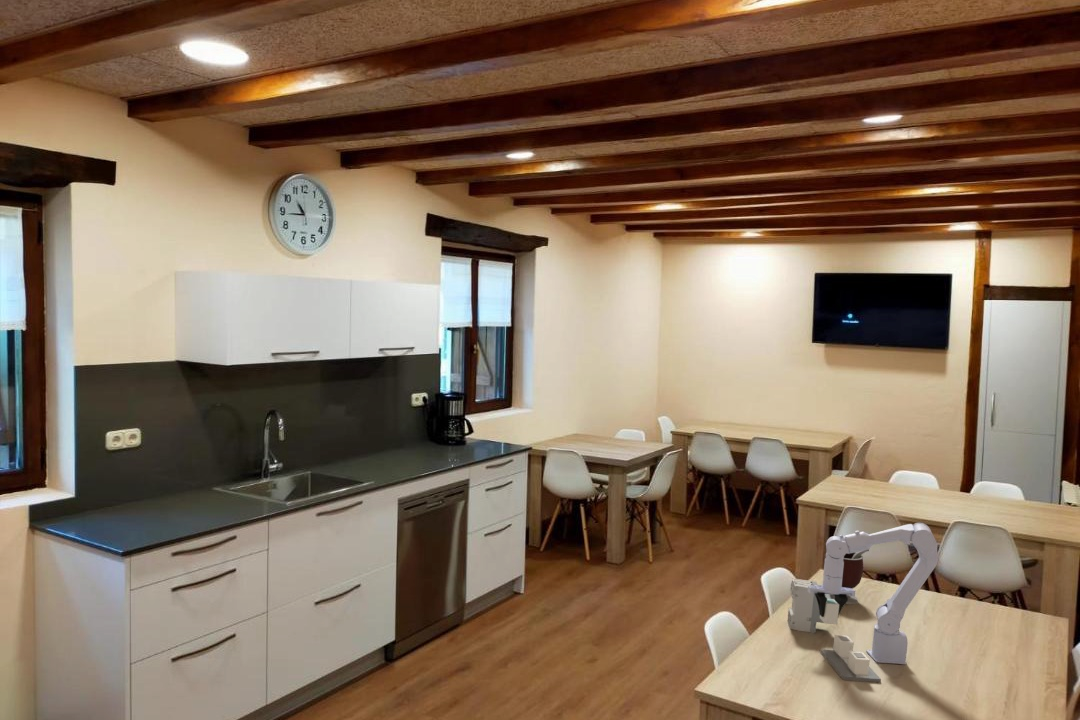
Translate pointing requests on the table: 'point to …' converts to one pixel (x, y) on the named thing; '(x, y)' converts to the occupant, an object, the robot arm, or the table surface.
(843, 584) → the mate gourd
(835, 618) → the block
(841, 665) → the board
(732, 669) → the table surface
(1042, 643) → the table surface
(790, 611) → the circuit breaker
